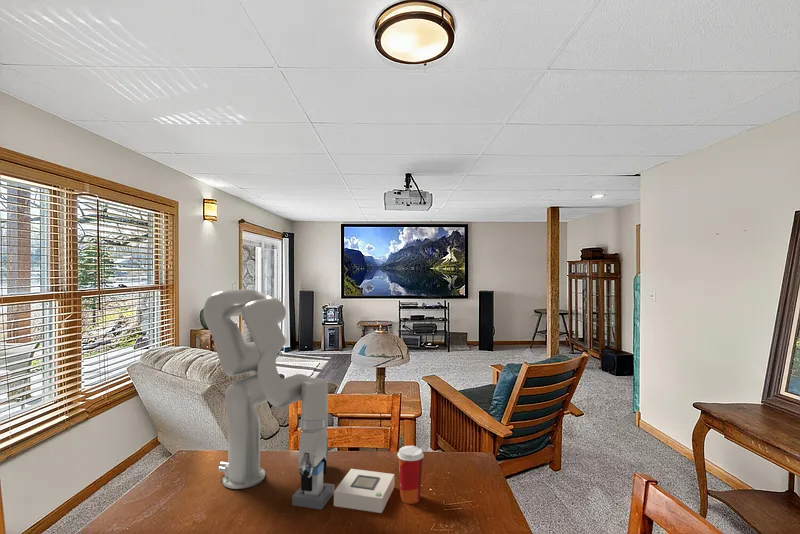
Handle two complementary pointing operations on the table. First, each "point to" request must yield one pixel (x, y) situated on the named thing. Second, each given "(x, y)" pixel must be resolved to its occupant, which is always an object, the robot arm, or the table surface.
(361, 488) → the port panel
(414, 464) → the paper cup
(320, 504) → the grey square frame
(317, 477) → the plug
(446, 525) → the table surface
